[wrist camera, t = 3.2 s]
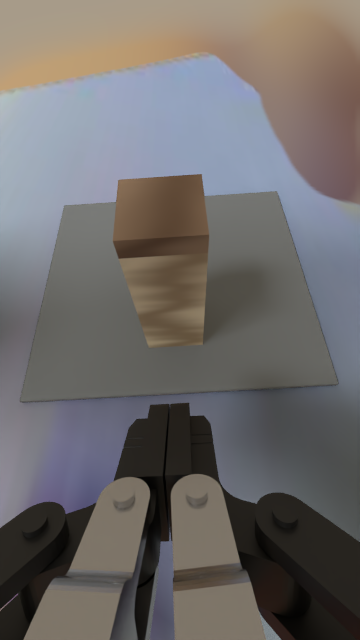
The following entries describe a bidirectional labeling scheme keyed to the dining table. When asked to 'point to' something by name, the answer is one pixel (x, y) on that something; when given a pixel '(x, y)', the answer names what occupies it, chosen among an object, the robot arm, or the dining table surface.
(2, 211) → the dining table surface
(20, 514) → the robot arm
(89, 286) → the rubber mat
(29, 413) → the dining table surface
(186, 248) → the maple block
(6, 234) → the dining table surface
